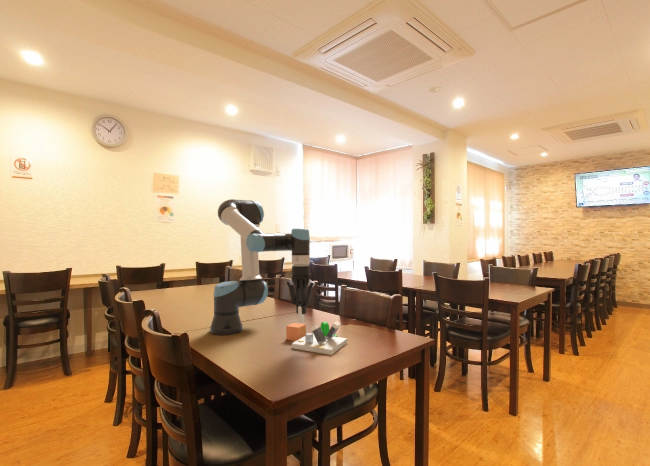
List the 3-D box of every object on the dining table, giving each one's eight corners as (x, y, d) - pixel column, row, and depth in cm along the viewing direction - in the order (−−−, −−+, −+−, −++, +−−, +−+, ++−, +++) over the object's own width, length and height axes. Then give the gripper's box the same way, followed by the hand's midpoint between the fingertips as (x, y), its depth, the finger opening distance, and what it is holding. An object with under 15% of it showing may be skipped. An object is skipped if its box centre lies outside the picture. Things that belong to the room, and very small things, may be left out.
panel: (291, 348, 139) (291, 343, 139) (310, 337, 154) (310, 332, 154) (330, 355, 131) (330, 349, 131) (347, 343, 146) (347, 337, 146)
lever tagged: (318, 345, 136) (309, 327, 138) (323, 342, 140) (315, 325, 142) (322, 343, 136) (313, 325, 137) (327, 340, 140) (318, 323, 141)
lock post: (305, 342, 140) (305, 334, 140) (308, 341, 142) (308, 332, 142) (310, 343, 139) (310, 335, 139) (313, 342, 141) (313, 333, 141)
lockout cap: (286, 339, 151) (286, 326, 151) (293, 335, 157) (293, 322, 157) (298, 341, 149) (298, 327, 149) (306, 337, 154) (305, 324, 154)
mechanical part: (337, 340, 152) (337, 322, 152) (325, 341, 149) (325, 323, 149) (327, 333, 163) (327, 316, 163) (315, 334, 160) (315, 317, 160)
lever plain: (324, 338, 143) (333, 323, 141) (329, 335, 147) (337, 320, 145) (328, 341, 142) (337, 326, 141) (332, 338, 146) (341, 323, 145)
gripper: (282, 265, 142) (283, 322, 142) (310, 266, 136) (310, 325, 136) (292, 264, 149) (292, 318, 149) (318, 264, 143) (319, 321, 143)
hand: (301, 321), depth 142 cm, fingers closed
